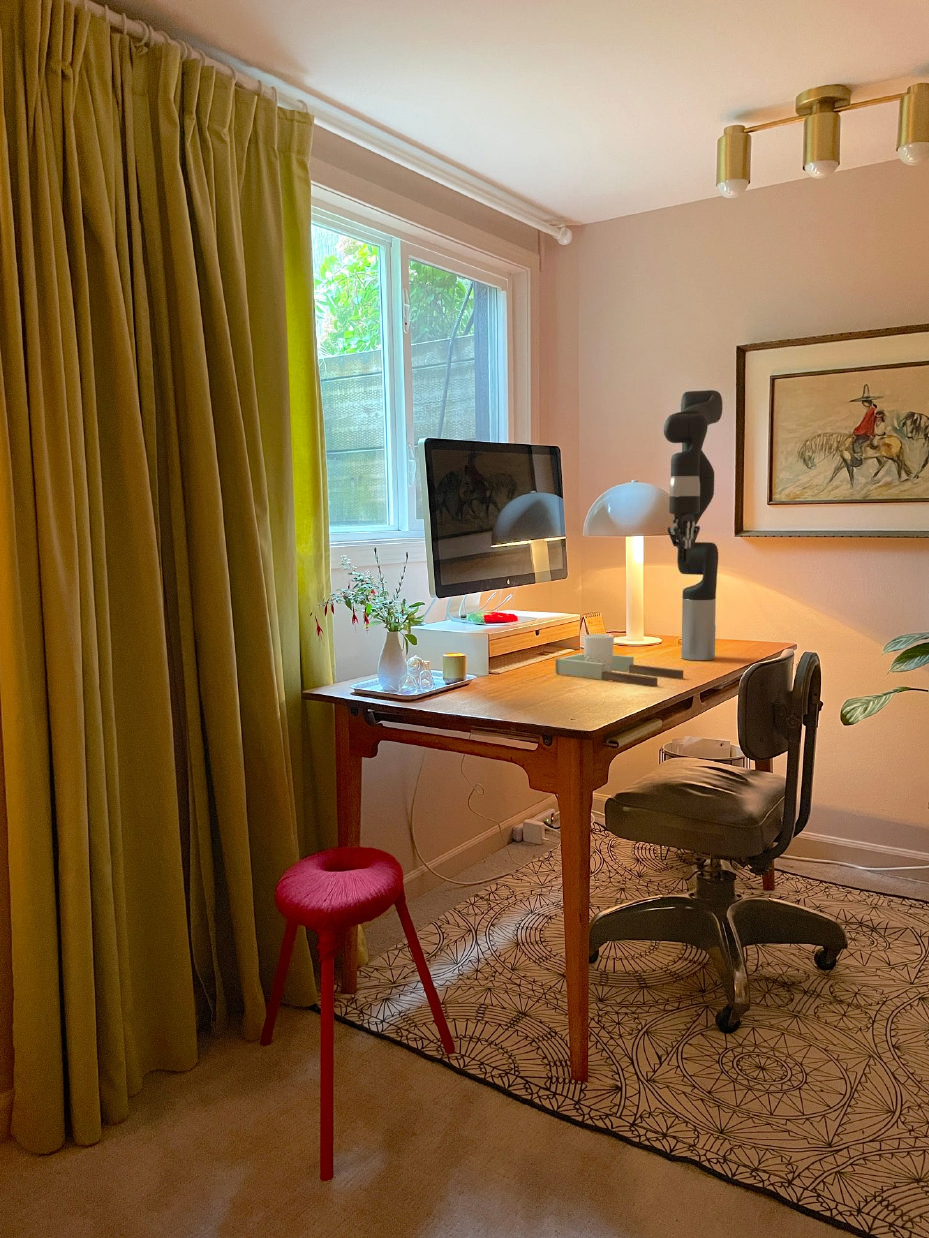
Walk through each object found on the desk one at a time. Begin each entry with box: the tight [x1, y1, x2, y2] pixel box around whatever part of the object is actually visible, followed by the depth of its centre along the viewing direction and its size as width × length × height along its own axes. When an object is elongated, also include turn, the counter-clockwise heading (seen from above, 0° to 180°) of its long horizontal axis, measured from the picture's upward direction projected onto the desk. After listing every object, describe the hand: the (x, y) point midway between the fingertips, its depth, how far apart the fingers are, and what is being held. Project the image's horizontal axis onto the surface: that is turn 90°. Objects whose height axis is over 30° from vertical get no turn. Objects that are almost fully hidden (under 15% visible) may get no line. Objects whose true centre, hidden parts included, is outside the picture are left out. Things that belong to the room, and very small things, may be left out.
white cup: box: [583, 633, 615, 672], centre depth 247 cm, size 8×8×10 cm
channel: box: [601, 664, 684, 687], centre depth 239 cm, size 15×15×2 cm
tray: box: [555, 652, 635, 681], centre depth 248 cm, size 15×14×4 cm
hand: (683, 563), depth 239 cm, fingers closed
